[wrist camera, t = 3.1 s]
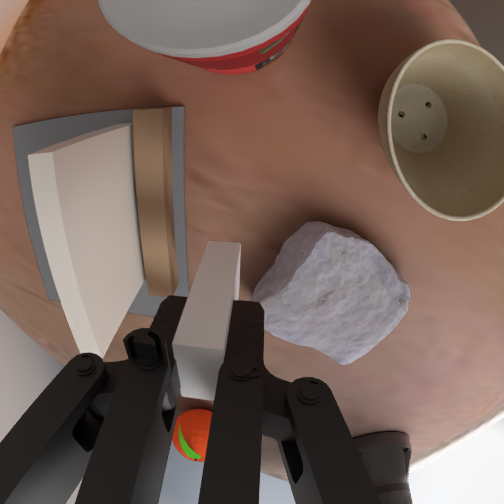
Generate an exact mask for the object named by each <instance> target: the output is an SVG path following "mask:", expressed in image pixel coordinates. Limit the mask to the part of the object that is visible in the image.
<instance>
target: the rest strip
mask: <svg viewBox="0 0 504 504" xmlns="http://www.w3.org/2000/svg"><path fill="white" fill-rule="evenodd" d="M133 140H134V163H135V180H136V194H137V205H138V216H139V226H140V235H141V244H142V252H143V259H144V267H145V274H146V281H147V287H148V293H149V295H151V296H160V297H168V296H169V295H174V293H175V291H176V289H177V286H178V284H179V282H178V270H177V257H176V243H175V227H174V208H173V182H172V107H157V108H143V109H137V110H133Z"/></svg>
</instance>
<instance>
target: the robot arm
mask: <svg viewBox="0 0 504 504" xmlns="http://www.w3.org/2000/svg"><path fill="white" fill-rule="evenodd" d="M240 255H241V243H236V242H221V241H208V243H207V246H206V248H205V251H204V254H203V257H202V259H201V262H200V265H199V268H198V270H197V273H196V276H195V279H194V281H193V284H192V287H191V290H190V293H189V296H188V297H184V296H174V295H169V296H168V297H167V298H166V299H164V300H163V301H162V302H161V304H160V306H159V308H158V310H157V313H156V315H155V317H154V321H153V322H152V324H151V326H150V328H141V329H137V330H134V331H132V332H131V333H129V334H127V336H126V337H125V338H124V339H123V341H124V345H125V348H126V351H127V355H128V358H129V359H127V360H123V361H117V362H103V360H102V358H101V357H100V356H98V355H97V354H94V353H90V352H89V353H82V354H79V355H76V356H75V357H74V358H73V359H71V360H70V361H69V362H68V364H67V365H66V366H65V367H64V368H63V369H62V370H61V371H60V373H59V374H58V375H57V376H56V377H55V378H54V379H53V380H52V382H51V383H50V384H49V385H48V386H47V387H46V388H45V390H44V391H43V392H42V393H41V394H40V395H39V397H38V398H37V399H36V400H35V401H34V402H33V404H32V405H31V406H30V407H29V408H28V410H27V411H26V412H25V413H24V414H23V415H22V417H21V418H20V419H19V421H18V422H17V423H16V424H15V425H14V426H13V428H12V429H11V430H10V431H9V433H8V434H7V435H6V436H5V438H4V439H3V440H2V441H1V443H0V504H66V502H67V501H68V499H69V498H70V496H71V495H72V493H73V492H74V490H75V489H76V487H77V486H78V484H79V482H80V481H81V479H82V478H83V480H82V483H81V486H80V489H79V492H78V495H77V499H76V502H75V504H158V502H159V497H160V492H161V488H162V483H163V478H164V473H165V469H166V464H167V459H168V455H169V450H170V445H171V441H172V437H173V432H174V428H175V424H176V419H177V415H178V411H179V404H178V396H179V392H180V391H181V396H182V397H189V398H197V399H205V400H214V404H213V411H212V417H211V423H210V429H209V436H208V442H207V449H206V455H205V462H204V468H203V475H202V481H201V488H200V495H199V502H198V504H259V485H260V464H261V440H262V435H265V436H268V437H271V438H274V439H277V442H278V446H279V449H280V452H281V456H282V459H283V463H284V466H285V469H286V473H287V476H288V480H289V483H290V486H291V490H292V493H293V496H294V499H295V502H296V504H412V499H411V494H410V489H409V484H408V475H409V468H410V460H411V451H412V450H411V444H410V440H409V437H408V436H407V435H406V434H404V433H401V432H382V433H375V434H370V435H366V436H362V437H358V438H355V439H353V438H352V436H351V434H350V431H349V429H348V427H347V425H346V422H345V420H344V418H343V416H342V414H341V411H340V409H339V407H338V405H337V402H336V400H335V398H334V396H333V394H332V391H331V390H330V388H329V387H328V385H327V384H326V383H324V382H323V381H321V380H320V379H316V378H313V377H302V378H300V379H297V380H295V381H293V382H292V383H291V382H288V381H285V380H282V379H279V378H277V377H275V376H273V375H272V374H270V373H269V371H268V370H267V369H266V367H265V365H264V361H263V351H264V313H265V311H264V309H263V307H262V306H261V304H260V302H254V301H240V300H238V296H239V280H240ZM83 476H84V477H83Z"/></svg>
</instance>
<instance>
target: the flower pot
mask: <svg viewBox="0 0 504 504" xmlns="http://www.w3.org/2000/svg"><path fill="white" fill-rule="evenodd" d="M427 102H428V104H427V106H426V103H427ZM399 115H402V116H403V117H400V116H399ZM378 128H379V134H380V139H381V143H382V146H383V149H384V152H385V154H386V156H387V159H388V161H389V163H390V165H391V167H392V169H393V170H394V172H395V174H396V176H397V177H398V179H399V180H400V182H401V183H402V184H403V186H404V187H405V189H406V190H407V191H408V192H409V194H410V195H411V196H412V197H413V198H414V199H415V200H416V201H417V202H418V203H419V204H420V205H421V206H422V207H423V208H425V209H426V210H427V211H429V212H430V213H432V214H434V215H436V216H438V217H441V218H444V219H447V220H453V221H468V220H473V219H476V218H480V217H482V216H484V215H486V214H488V213H490V212H491V211H493V210H494V209H495V208H497V207H498V206H499V205H500V204H501V203H502V202H503V201H504V66H503V65H502V64H501V63H500V62H499V61H498V60H497V59H496V58H495V57H494V56H493V55H492V54H490V53H489V52H488V51H486V50H484V49H483V48H481V47H480V46H478V45H475V44H473V43H471V42H468V41H464V40H459V39H443V40H438V41H434V42H431V43H429V44H427V45H425V46H423V47H421V48H419V49H418V50H416V51H415V52H413V53H412V54H410V55H409V56H408V57H406V58H405V59H404V60H403V61H402V62H401V63H400V64H399V65H398V66H397V67H396V69H395V70H394V71H393V73H392V74H391V75H390V77H389V79H388V80H387V82H386V84H385V86H384V89H383V91H382V94H381V98H380V102H379V107H378ZM424 135H426V138H425V137H424Z"/></svg>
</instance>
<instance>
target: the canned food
mask: <svg viewBox="0 0 504 504" xmlns="http://www.w3.org/2000/svg"><path fill="white" fill-rule="evenodd" d="M310 2H311V0H98V4H99V7H100V9H101V11H102V13H103V15H104V17H105V19H106V20H107V21H108V22H109V24H110V25H111V26H112V27H113V28H114V29H115V30H116V31H117V32H118V33H120V34H121V35H123V36H124V37H125V38H127V39H128V40H130V41H131V42H133V43H135V44H136V45H138V46H140V47H143V48H145V49H148V50H150V51H152V52H155V53H158V54H161V55H163V56H166V57H169V58H172V59H176V60H179V61H182V62H185V63H188V64H191V65H194V66H197V67H200V68H202V69H205V70H209V71H212V72H215V73H221V74H244V73H249V72H254V71H256V70H259V69H261V68H264V67H266V66H268V65H269V64H271V63H273V62H274V61H276V60H277V59H278V58H279V57H280V56H281V55H282V54H283V53H284V52H285V51H286V49H287V48H288V46H289V45H290V43H291V41H292V39H293V37H294V35H295V33H296V31H297V29H298V27H299V25H300V23H301V21H302V19H303V17H304V15H305V13H306V11H307V9H308V7H309V5H310Z"/></svg>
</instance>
